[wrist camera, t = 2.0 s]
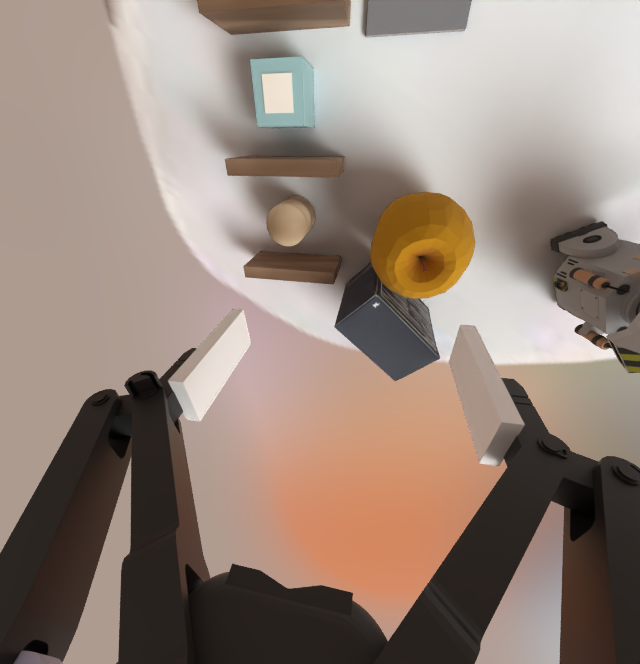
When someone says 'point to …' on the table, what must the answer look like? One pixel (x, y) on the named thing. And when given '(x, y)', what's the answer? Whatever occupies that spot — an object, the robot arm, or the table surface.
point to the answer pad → (416, 16)
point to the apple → (422, 245)
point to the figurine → (602, 289)
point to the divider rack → (269, 16)
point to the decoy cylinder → (290, 220)
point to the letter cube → (283, 92)
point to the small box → (386, 325)
